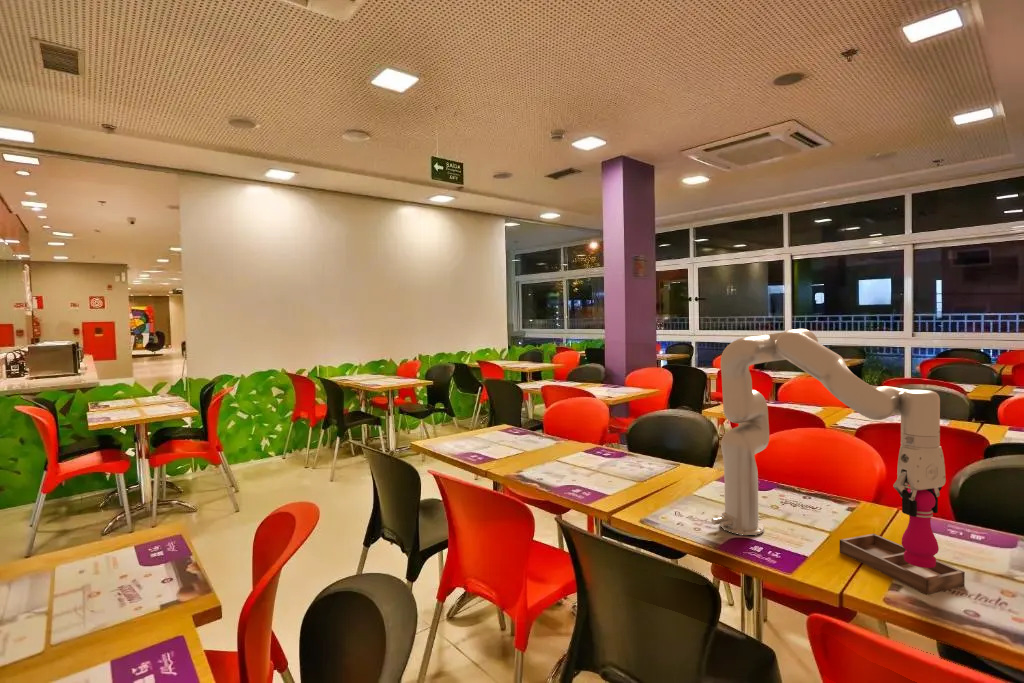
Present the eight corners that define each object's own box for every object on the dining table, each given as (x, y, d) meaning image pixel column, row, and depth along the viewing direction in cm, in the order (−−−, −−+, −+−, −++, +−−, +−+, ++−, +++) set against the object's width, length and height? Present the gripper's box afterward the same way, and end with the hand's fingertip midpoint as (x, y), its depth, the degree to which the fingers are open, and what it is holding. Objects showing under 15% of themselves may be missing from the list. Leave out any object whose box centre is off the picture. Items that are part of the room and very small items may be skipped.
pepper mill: (946, 568, 126) (946, 487, 125) (915, 569, 126) (916, 487, 125) (923, 555, 133) (923, 477, 132) (894, 555, 133) (894, 478, 132)
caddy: (926, 594, 122) (926, 580, 122) (839, 552, 145) (839, 539, 145) (964, 586, 125) (964, 571, 125) (873, 545, 148) (873, 533, 148)
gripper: (908, 447, 122) (907, 523, 123) (962, 440, 126) (962, 513, 127) (877, 440, 129) (878, 512, 130) (930, 434, 134) (930, 503, 135)
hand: (919, 512), depth 129 cm, fingers closed on pepper mill, 6 cm apart
